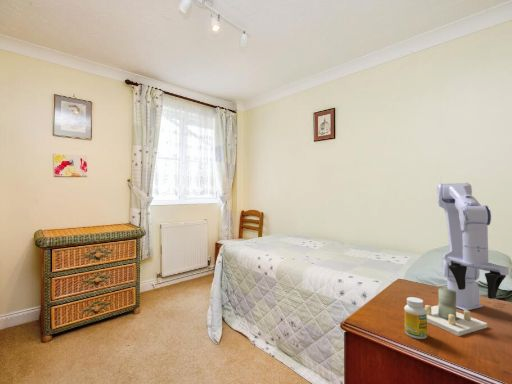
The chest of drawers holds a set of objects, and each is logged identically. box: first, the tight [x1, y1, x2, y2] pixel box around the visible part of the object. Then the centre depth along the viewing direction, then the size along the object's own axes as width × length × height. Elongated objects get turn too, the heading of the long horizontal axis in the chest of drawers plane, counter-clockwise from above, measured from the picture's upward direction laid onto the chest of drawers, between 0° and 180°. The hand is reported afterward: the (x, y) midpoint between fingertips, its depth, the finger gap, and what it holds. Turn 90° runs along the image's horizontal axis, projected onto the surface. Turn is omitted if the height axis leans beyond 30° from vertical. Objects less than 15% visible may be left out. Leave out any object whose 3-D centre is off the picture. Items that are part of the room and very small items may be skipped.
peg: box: [437, 287, 457, 320], centre depth 80 cm, size 4×4×8 cm
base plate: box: [424, 304, 488, 337], centre depth 80 cm, size 13×14×4 cm
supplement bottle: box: [403, 296, 428, 340], centre depth 72 cm, size 5×5×10 cm
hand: (476, 293), depth 76 cm, fingers open, 7 cm apart
